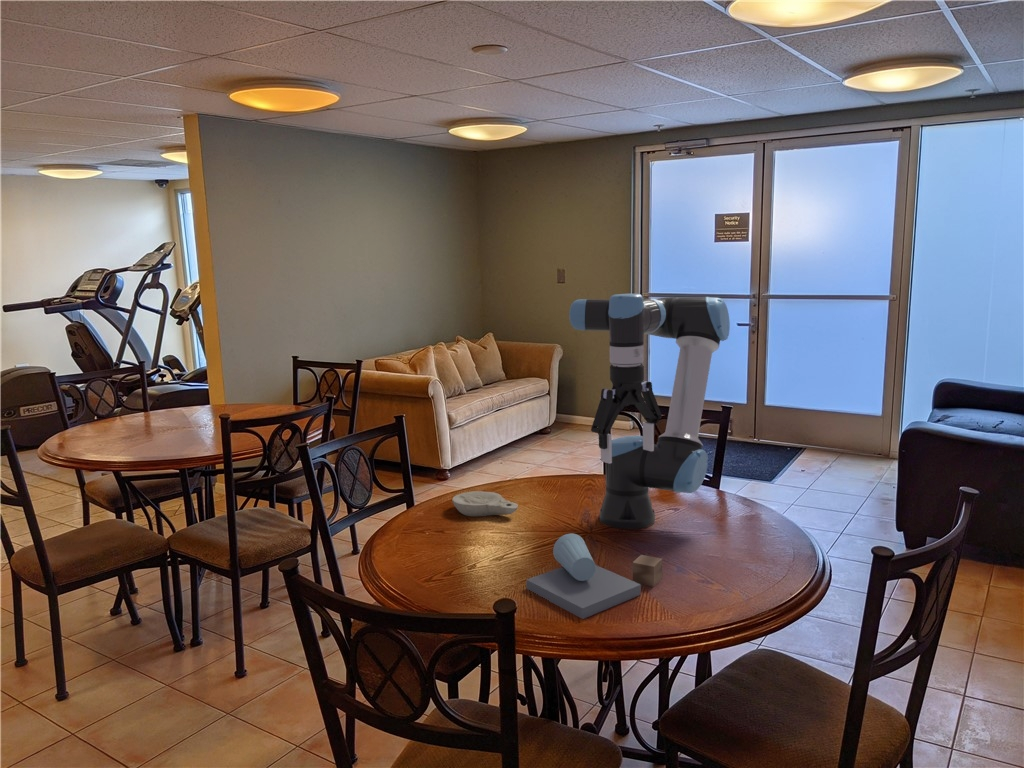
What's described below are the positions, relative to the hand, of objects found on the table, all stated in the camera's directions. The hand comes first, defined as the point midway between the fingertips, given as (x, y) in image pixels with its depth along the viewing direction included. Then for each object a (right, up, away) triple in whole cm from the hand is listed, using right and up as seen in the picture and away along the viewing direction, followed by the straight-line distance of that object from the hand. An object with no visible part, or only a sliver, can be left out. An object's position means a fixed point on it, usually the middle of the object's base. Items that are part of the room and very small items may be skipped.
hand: (627, 456), depth 168 cm
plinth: (-11, -29, -8) cm, 32 cm away
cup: (-12, -27, -8) cm, 31 cm away
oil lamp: (-34, -21, +44) cm, 59 cm away
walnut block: (+4, -28, -3) cm, 28 cm away
